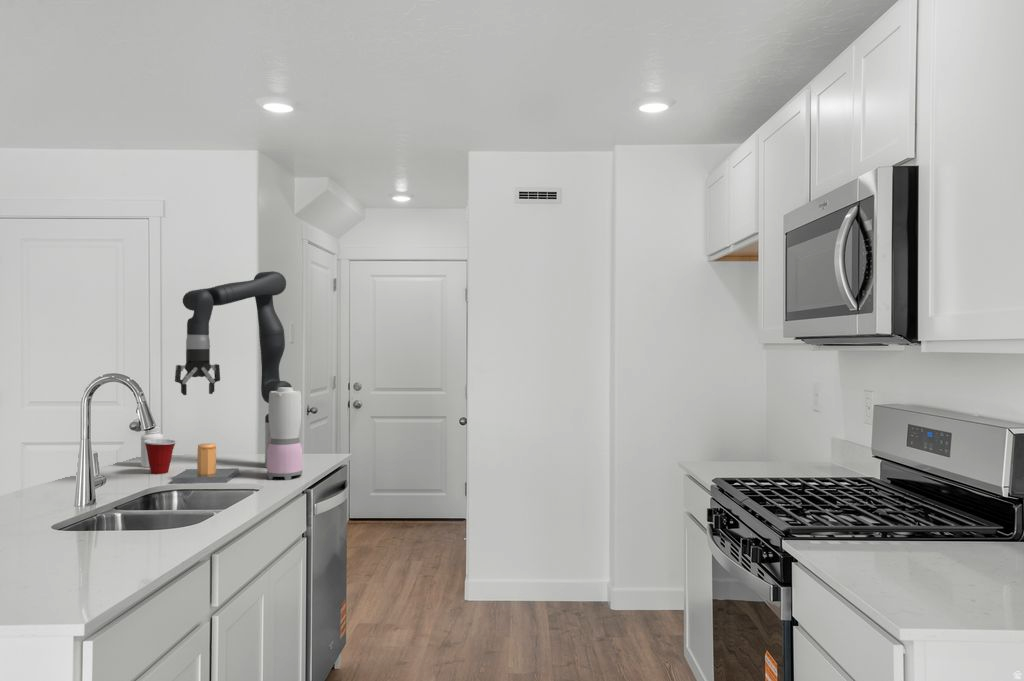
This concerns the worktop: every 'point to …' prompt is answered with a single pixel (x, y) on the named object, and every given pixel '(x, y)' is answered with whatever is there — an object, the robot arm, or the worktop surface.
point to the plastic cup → (159, 454)
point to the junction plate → (205, 476)
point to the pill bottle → (149, 435)
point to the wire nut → (206, 459)
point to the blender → (284, 434)
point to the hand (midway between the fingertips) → (197, 394)
